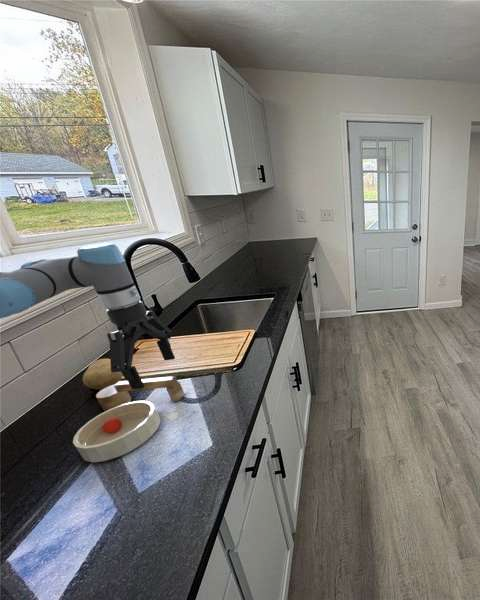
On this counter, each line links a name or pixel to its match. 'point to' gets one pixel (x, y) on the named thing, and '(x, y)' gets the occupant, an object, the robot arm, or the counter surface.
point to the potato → (101, 375)
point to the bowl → (133, 432)
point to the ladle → (120, 395)
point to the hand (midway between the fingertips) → (155, 372)
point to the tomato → (112, 425)
